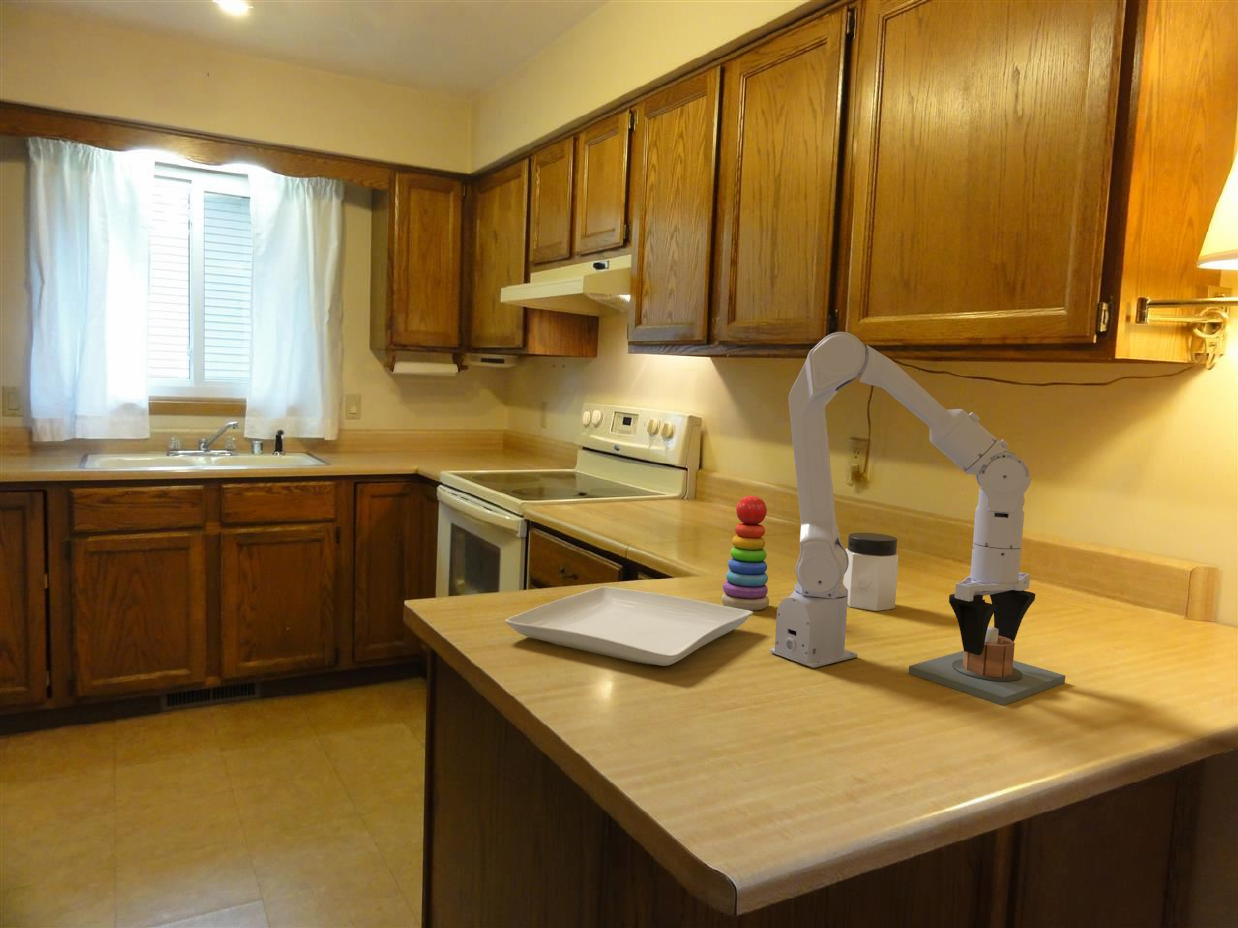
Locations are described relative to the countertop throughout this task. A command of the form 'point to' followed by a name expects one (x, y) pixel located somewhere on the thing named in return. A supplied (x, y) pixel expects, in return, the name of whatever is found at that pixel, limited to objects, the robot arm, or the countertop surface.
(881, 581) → the jar
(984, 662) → the collar
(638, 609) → the square plate
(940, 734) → the countertop surface
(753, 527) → the stacking toy
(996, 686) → the post board
